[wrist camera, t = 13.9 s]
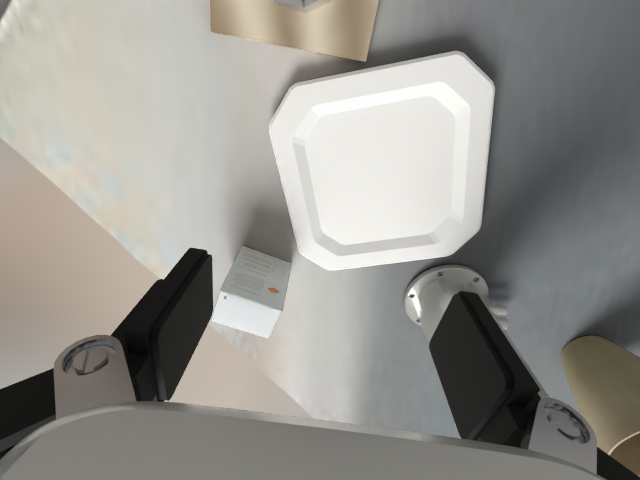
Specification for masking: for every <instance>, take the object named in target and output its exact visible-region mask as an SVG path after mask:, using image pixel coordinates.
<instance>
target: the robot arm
mask: <svg viewBox="0 0 640 480" xmlns="http://www.w3.org/2000/svg"><path fill="white" fill-rule="evenodd" d="M488 295H489V292H488V287H487V284H486V282H485V281H484V279H483V278H482V276H481V275H480V274H479V273H478V272H476V271H475V270H473V269H471V268H469V267H466V266H462V265H442V266H438V267H434V268H431V269H429V270H427V271H425V272H423V273H422V274H420V275H419V276H417V277H416V278H415V279H414V280H413V281H412V282H411V283H410V285H409V286H408V288H407V290H406V292H405V296H404V305H405V309H406V312H407V314H408V316H409V317H410V318H411V320H412V321H414V322H415V323H416V324H418V325H420V326H422V327H423V330H424V333H425V336H426V339H427V341H428V344H429V349H430V352H431V355H432V358H433V361H434V364H435V367H436V369H437V372H438V375H439V378H440V381H441V384H442V386H443V389H444V392H445V395H446V398H447V401H448V404H449V406H450V409H451V412H452V415H453V418H454V421H455V423H456V426H457V429H458V432H459V434H460V436H461V438H462V439H460V438H452V437H445V436H438V435H431V434H423V433H416V432H409V431H401V430H394V429H386V428H379V427H371V426H364V425H356V424H349V423H341V422H333V421H326V420H318V419H310V418H302V417H295V416H287V415H278V414H270V413H263V412H255V411H247V410H239V409H231V408H222V407H213V406H203V405H195V404H185V403H173V402H164V400H168V401H169V400H170V398H171V397H172V395H173V393H174V391H175V389H176V387H177V385H178V383H179V381H180V379H181V377H182V375H183V373H184V371H185V369H186V367H187V365H188V363H189V361H190V359H191V357H192V355H193V353H194V351H195V349H196V347H197V345H198V343H199V340H200V338H201V336H202V335H203V332H204V330H205V328H206V326H207V324H208V322H209V320H210V318H211V316H212V312H213V281H212V255H209V254H208V253H207V251H206V250H202V249H196V248H189V249H188V251H187V252H186V253H185V254H184V255H183V257H182V258H181V259H180V260H179V262H178V263H177V264H176V265H175V267H174V268H173V269H172V270H171V272H170V273H169V274H168V275H167V277H166V278H165V279H164V280H163V279H160V280H157V281H156V282H155V284H153V286H152V287H151V288H150V290H149V291H148V292H147V293H146V294H145V295H144V296H143V298H142V299H141V300H140V301H139V302H138V304H137V305H136V306H135V307H134V308H133V310H132V311H131V312H130V313H129V314H128V315H127V317H126V318H125V319H124V320H123V321H122V323H121V324H120V325H119V326H118V328H117V329H116V330H115V331H114V332H113V333H112V335H111V336H108V335H95V336H91V337H87V338H84V339H82V340H79V341H77V342H75V343H73V344H72V345H70V346H69V347H67V348H66V349H65V350H64V351H63V352H62V353H61V354H60V355H59V356H58V358H57V359H56V361H55V364H54V368H53V369H51V370H48V371H46V372H43V373H40V374H38V375H36V376H33V377H30V378H28V379H25V380H23V381H20V382H18V383H15V384H13V385H10V386H8V387H5V388H3V389H0V480H640V477H639V476H638V475H636V474H635V473H633V472H632V471H631V470H629V469H628V468H626V467H625V466H624V465H622V464H621V463H619V462H618V461H617V460H615V459H614V458H612V457H611V456H610V455H608V454H607V453H605V452H604V451H603V450H601V449H600V448H598V447H597V440H596V435H595V433H594V431H593V429H592V428H591V426H590V425H589V424H588V422H587V421H586V420H585V419H584V418H583V417H582V416H581V415H580V414H579V413H578V412H577V411H576V410H574V409H573V408H571V407H570V406H569V405H567V404H565V403H563V402H561V401H559V400H556V399H553V398H550V397H549V396H548V394H547V393H546V391H545V390H544V389H543V387H542V386H541V384H540V383H539V381H538V380H537V378H536V377H535V375H534V374H533V372H532V371H531V369H530V368H529V366H528V365H527V363H526V362H525V360H524V359H523V357H522V356H521V354H520V353H519V351H518V350H517V348H516V347H515V345H514V344H513V342H512V341H511V339H510V338H509V336H508V335H507V333H506V332H505V330H507V329H508V326H509V322H508V319H507V318H505V317H498V316H495V315H494V314H493V313H496V314H500V315H507V313H508V308H507V307H506V306H502V305H493V304H492V303H491V301H490V300H489V298H488Z"/></svg>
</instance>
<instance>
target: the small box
mask: <svg viewBox="0 0 640 480" xmlns="http://www.w3.org/2000/svg"><path fill="white" fill-rule="evenodd" d="M291 265H292V264H291V263H290V262H287V261H284V260H281V259H278V258H276V257H273V256H270V255H267V254H265V253H262V252H259V251H256V250H253V249H250V248H248V247H245V246H242V247H241V248H240V251H239V253H238V255H237V257H236V259H235V261H234V263H233V265H232V267H231V269H230V271H229V273H228V275H227V277H226V279H225V281H224V283H223V285H222V287H221V289H220V293H219V296H218V299H217V302H216V305H215V309H214V312H213V315H212V318H211V321H212V322H216V323H219V324H222V325H226V326H229V327H232V328H236V329H239V330H242V331H245V332H249V333H252V334H255V335H258V336H262V337H265V338H269V337H270V335H271V333H272V331H273V329H274V327H275V325H276V323H277V321H278V319H279V317H280V315H281V313H282V311H283V307H284V301H285V296H286V291H287V286H288V280H289V275H290V270H291Z"/></svg>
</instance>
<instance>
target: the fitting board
mask: <svg viewBox="0 0 640 480" xmlns="http://www.w3.org/2000/svg"><path fill="white" fill-rule="evenodd" d="M378 3H379V0H333V1H331V2H329V3H327V4H325V5H323V6H321V7H319V8H317V9H315V10H312V11H310V12H308V13H303V12H298V11H293V10H288V9H283V8H279V7H278V6H277V5H276V4H275V3H274V2H273V1H272V0H210V9H211V32H214V33H219V34H224V35H229V36H234V37H239V38H244V39H250V40H255V41H260V42H265V43H270V44H275V45H280V46H285V47H290V48H295V49H300V50H305V51H310V52H315V53H321V54H326V55H331V56H336V57H341V58H346V59H351V60H356V61H361V62H366V60H367V55H368V50H369V45H370V41H371V36H372V31H373V26H374V22H375V17H376V12H377V7H378Z"/></svg>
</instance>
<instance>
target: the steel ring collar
mask: <svg viewBox="0 0 640 480" xmlns="http://www.w3.org/2000/svg"><path fill="white" fill-rule="evenodd" d="M272 1H273V2H274V3H275V4H276V5H277V6H278V7H279V8H283V9H288V10H293V11H298V12H303V13H308V12H310V11H312V10H315V9H317V8H319V7H321V6H323V5H325V4H327V3H329V2H331V1H333V0H272Z"/></svg>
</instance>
